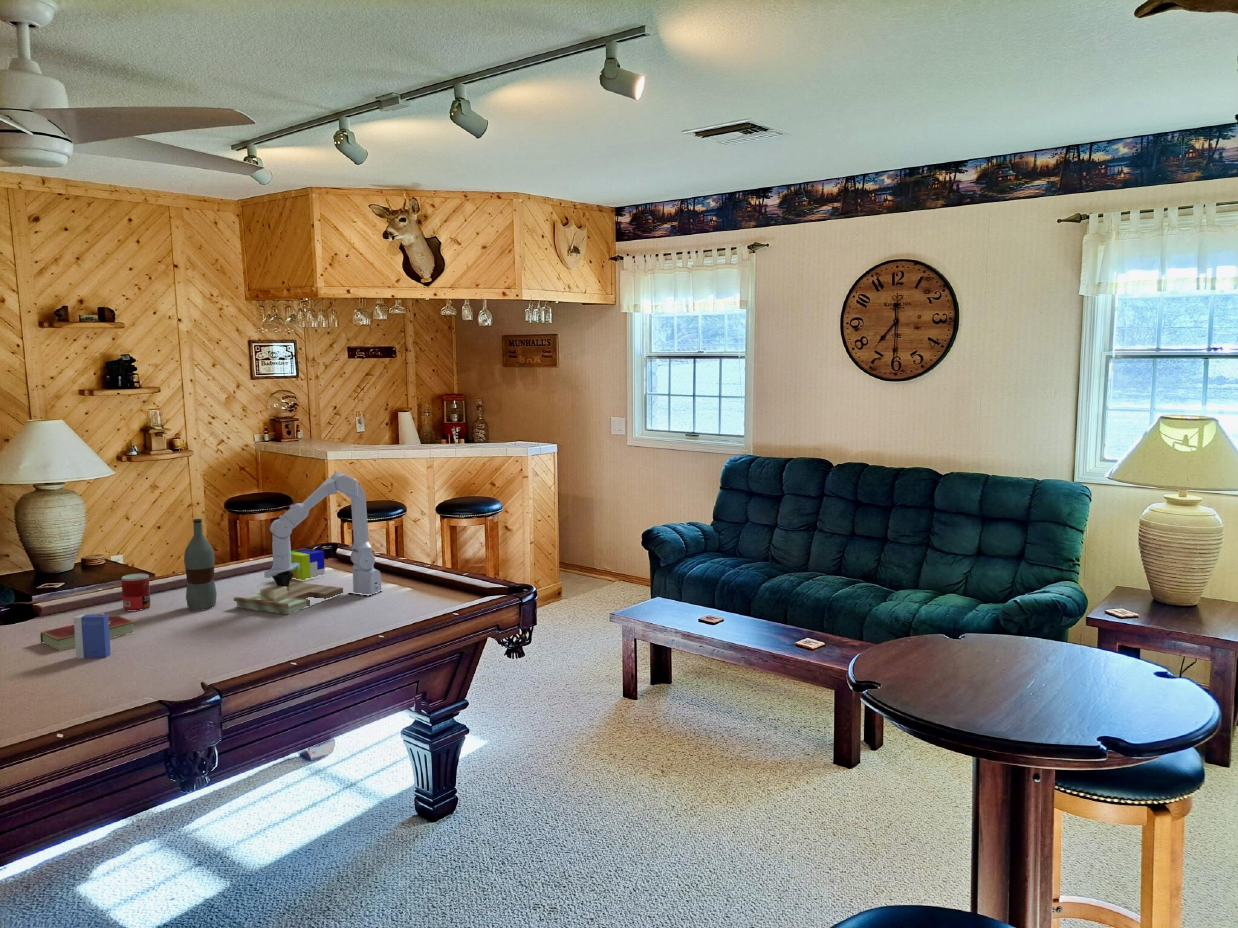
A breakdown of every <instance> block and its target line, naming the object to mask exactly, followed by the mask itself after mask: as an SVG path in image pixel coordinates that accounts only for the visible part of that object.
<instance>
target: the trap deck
mask: <svg viewBox="0 0 1238 928" xmlns="http://www.w3.org/2000/svg"><path fill="white" fill-rule="evenodd" d="M341 593H343V594H344V587H340V586H332V585H323V584H314V583H306V582H300V581H292V582H290V583H289V587H288V599H285V600H282V601H279V602H272V601H265V600H261V598H260V592H257V593H254V594H251V595H249V596H246V597H242V596H241V597H240V596H234V597H233V601H234V602H236V608H237V607H241V608H240V609H244V608H245V609H244V610H251V609H254V610H253V611H258V610H261V611H260V612H267V613H273V612H275V613H274V614H280V613H282V614H281V615H287V614H289V615H291V614H290V613H292V614H294V613H293V612H295V611H297V610H300V609H303V608H304V607H306V606H310V600H308V599H306V598H308V597H314V598H324V599H326V598H330V597H333V596H335V595H338V594H341ZM303 610H304V609H303ZM300 611H301V610H300ZM297 612H298V611H297ZM295 613H296V612H295Z"/></svg>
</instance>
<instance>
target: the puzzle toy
mask: <svg viewBox="0 0 1238 928" xmlns="http://www.w3.org/2000/svg"><path fill="white" fill-rule="evenodd" d="M292 563H300V569H295V570H291V571H290V572H293V577H292V578H296V579H301V580H305V579H306V578H311V577H316V576H318V575H323V574H325V573H326V571H325V570H326V568H325V551H324V550H319V549H313V548H308V547H307V548H303V549H302V548H301V549H297V550H293V551H292V550H291V564H292ZM325 575H326V574H325Z"/></svg>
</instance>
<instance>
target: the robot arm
mask: <svg viewBox="0 0 1238 928" xmlns="http://www.w3.org/2000/svg"><path fill="white" fill-rule="evenodd" d="M337 491H338V492H340V493H342V494H344V495H345V496H346V497H348V498H349V499H350V506H351V508H350V509H351V519H352V531H353V532H352V535H353V543H352V551H351V553H350V561H351V562H352V563H353V565H352V591H353V592H355V593H362V594H373V593H375V592H378V591H379V590H382V574H381V571H380V570H378V569H376V568H375V567H374V565H375V562H376V558H375V555H374V554H373V550H372V546H371V543H370V541H369V539H370V538H369V526H368V512H367V509H368V508H367V496H366V492H365V490H364V489H363V488H362V486H361V485H360V483H358V480H357V479H355V478H353V477H352V476H350V475H349V474H348V475H347V474H345V473H343V472H335V473H333V474H332V475H331V476H330V477H328V478H327V479H326V480H325V481H324V482H322V484H320V485H319V487H317V489H316V490H314V491H313V492H312V493H311V494H310V495H309V496H308V497H307V498H306V499H305V500H304V501H303V502H302V503H300V502H299V503H295V504H291V505H290V506H289V509H288V510H287V511H285V513H283V515H282V514H281V515H279V516H278V517H279V518H278V519H275V520H273V522H272V523H271V524H270V527H269V531H270V533H271V534H272V538H271V539H272V541H271V543H272V544H271V545H272V547H271V548H272V566H271V568H270V569H268V570H266V571H264V572H263V574H264V578H267V579H270V578H272V579H273V581H274V583H275V585H276V586H284V587H287V591H288V587H289V583H291V580H292V577H293V572H290V571H291V570H295V569H300V563H292V564H291V551H292V550H291V549H292V547H291V534H292V532H293V529H295V528H296V527H297V526H298V525H300V523H302V522H303V521H304V520H305V519H306V518H307V517H308V516H309V513H310V510H311V509H312V508H314V507H315V506H316V505H317V504H318V503H320V502H321V501H322V500H323V499H324V498H326V497H328V496H331V495H338V492H337Z"/></svg>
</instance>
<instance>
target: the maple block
mask: <svg viewBox="0 0 1238 928" xmlns="http://www.w3.org/2000/svg"><path fill="white" fill-rule="evenodd" d="M259 593H260V598H261V600H265V601H272V602H279V601H282V600H285V599H288V591H287V587H284V586H277V585H276V584H275V585H273V584H272V585H270V586H267V587H264V588H260V590H259Z"/></svg>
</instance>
